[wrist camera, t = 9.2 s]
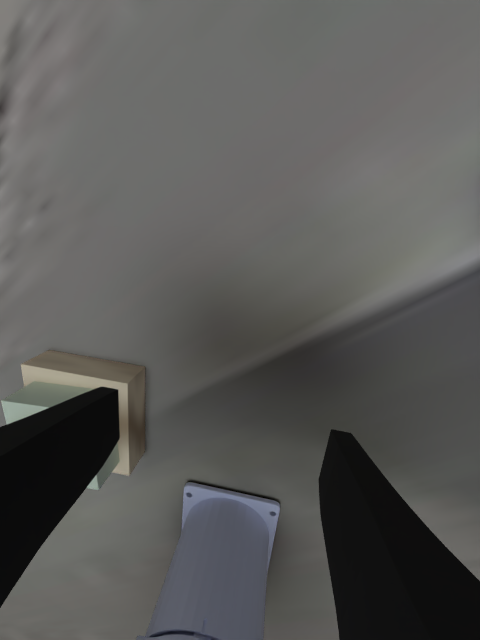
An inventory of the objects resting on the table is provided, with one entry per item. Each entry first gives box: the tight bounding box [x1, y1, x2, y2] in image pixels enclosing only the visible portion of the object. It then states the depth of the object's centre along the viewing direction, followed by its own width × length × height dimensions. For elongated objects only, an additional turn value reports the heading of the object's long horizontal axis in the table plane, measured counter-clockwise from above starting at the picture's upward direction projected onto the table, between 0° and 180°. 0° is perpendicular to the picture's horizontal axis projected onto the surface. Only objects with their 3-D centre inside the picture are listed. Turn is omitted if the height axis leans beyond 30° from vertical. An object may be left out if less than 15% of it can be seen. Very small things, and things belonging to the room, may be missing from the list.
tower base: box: [21, 350, 145, 476], centre depth 22 cm, size 8×8×3 cm
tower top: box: [1, 381, 120, 490], centre depth 20 cm, size 6×6×2 cm
